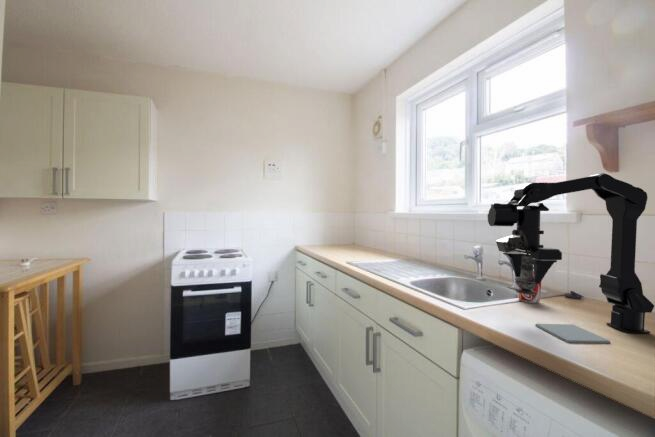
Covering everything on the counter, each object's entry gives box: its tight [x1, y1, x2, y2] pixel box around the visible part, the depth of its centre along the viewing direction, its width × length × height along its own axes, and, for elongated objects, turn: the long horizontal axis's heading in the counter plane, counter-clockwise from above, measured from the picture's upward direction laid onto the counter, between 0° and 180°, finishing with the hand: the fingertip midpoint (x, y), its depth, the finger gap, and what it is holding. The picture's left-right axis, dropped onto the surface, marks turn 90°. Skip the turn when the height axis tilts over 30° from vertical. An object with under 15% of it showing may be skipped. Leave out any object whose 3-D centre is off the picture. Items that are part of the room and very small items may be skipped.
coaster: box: [535, 323, 611, 344], centre depth 80 cm, size 11×11×1 cm
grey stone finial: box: [514, 253, 537, 295], centre depth 88 cm, size 6×6×12 cm
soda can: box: [517, 269, 542, 304], centre depth 111 cm, size 7×7×12 cm
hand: (527, 279), depth 88 cm, fingers closed on grey stone finial, 8 cm apart
